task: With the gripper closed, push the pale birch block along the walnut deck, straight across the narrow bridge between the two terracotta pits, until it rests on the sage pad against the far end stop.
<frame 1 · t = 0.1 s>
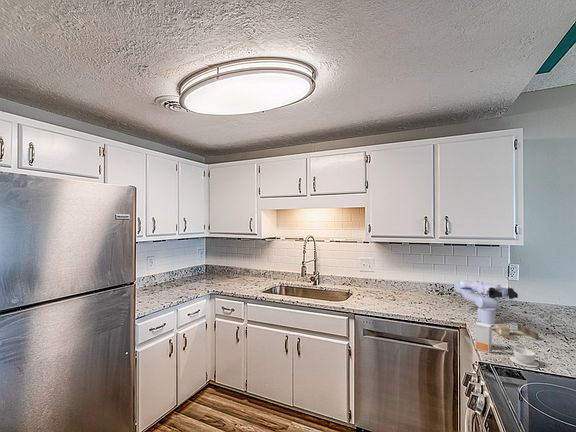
hand: (509, 295, 159), 22 cm above the worktop, tool horizontal, fingers open, 7 cm apart
teacup: (524, 363, 132), on the worktop
skincare box: (483, 350, 143), on the worktop
birch block: (502, 333, 160), point 1 cm above the worktop, touching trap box
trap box: (512, 336, 160), on the worktop
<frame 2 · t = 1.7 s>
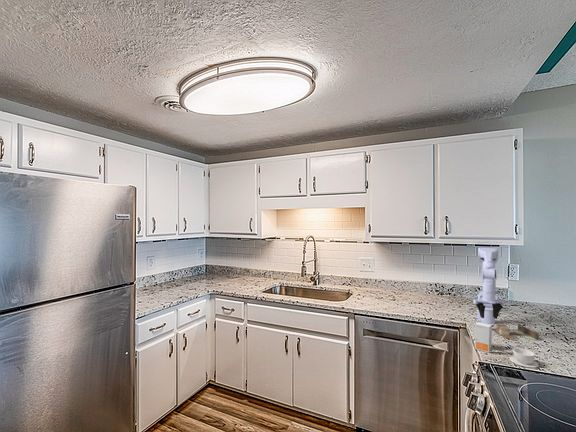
hand: (488, 317, 161), 9 cm above the worktop, tool pointing down, fingers open, 6 cm apart
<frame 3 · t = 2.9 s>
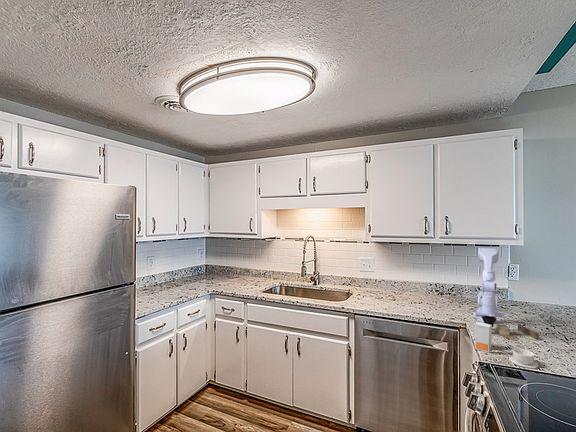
hand: (488, 330, 161), 3 cm above the worktop, tool pointing down, fingers closed
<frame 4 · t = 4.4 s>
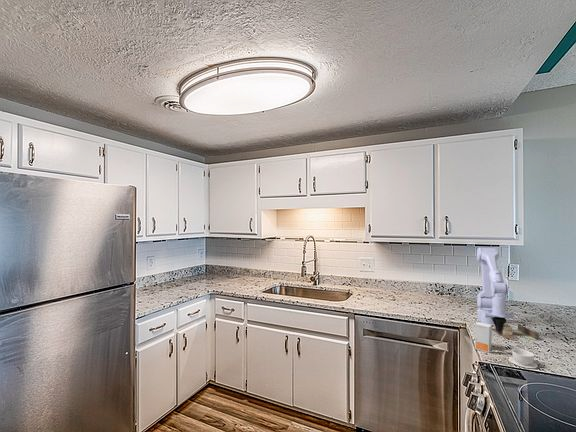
hand: (498, 331, 160), 2 cm above the worktop, tool pointing down, fingers closed
birch block: (505, 333, 160), point 2 cm above the worktop, touching gripper, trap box
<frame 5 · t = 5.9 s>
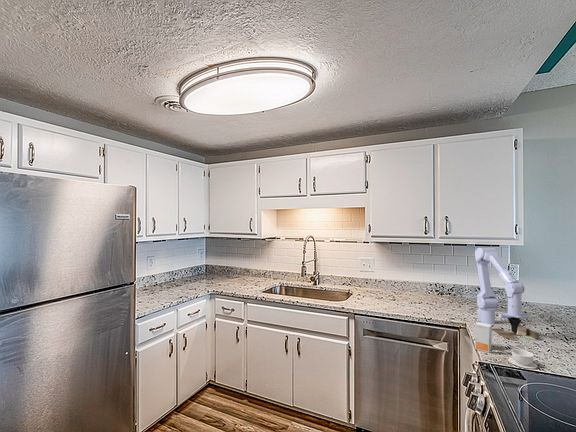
hand: (514, 332, 160), 3 cm above the worktop, tool pointing down, fingers closed, pressing on birch block
birch block: (519, 333, 159), point 2 cm above the worktop, touching gripper, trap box
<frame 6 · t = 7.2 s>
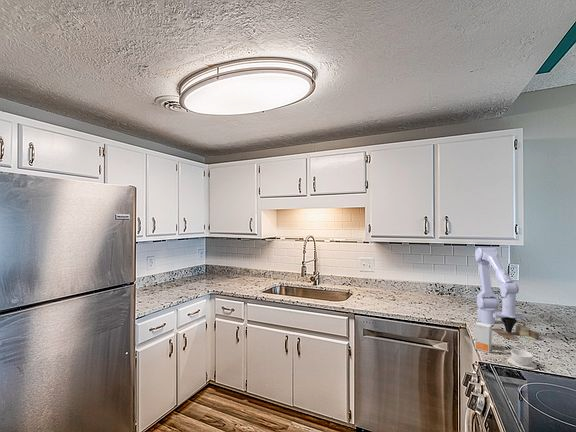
hand: (508, 332, 160), 2 cm above the worktop, tool pointing down, fingers closed
birch block: (522, 334, 159), point 1 cm above the worktop, touching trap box
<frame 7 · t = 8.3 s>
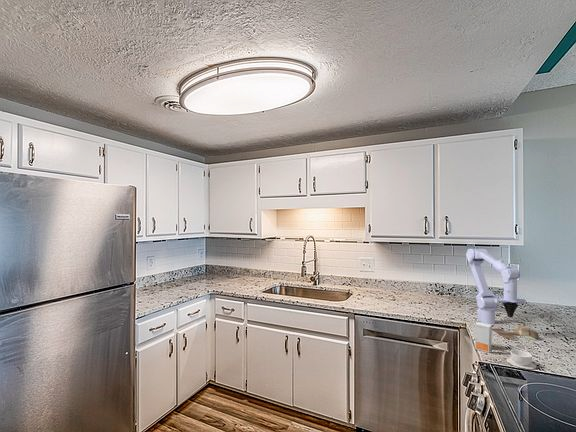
hand: (510, 316, 163), 9 cm above the worktop, tool pointing down, fingers closed
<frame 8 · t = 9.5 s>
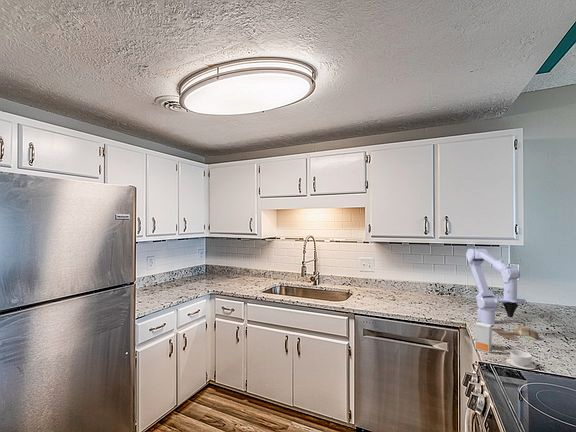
hand: (510, 316, 163), 9 cm above the worktop, tool pointing down, fingers closed
at the end: birch block 0.0 cm from the target spot, point 1.5 cm above the worktop; birch block tilted 0°; the gripper is holding nothing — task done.
